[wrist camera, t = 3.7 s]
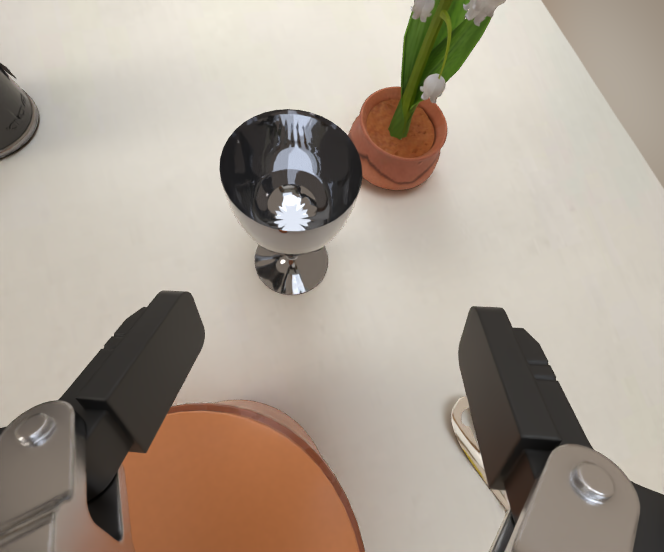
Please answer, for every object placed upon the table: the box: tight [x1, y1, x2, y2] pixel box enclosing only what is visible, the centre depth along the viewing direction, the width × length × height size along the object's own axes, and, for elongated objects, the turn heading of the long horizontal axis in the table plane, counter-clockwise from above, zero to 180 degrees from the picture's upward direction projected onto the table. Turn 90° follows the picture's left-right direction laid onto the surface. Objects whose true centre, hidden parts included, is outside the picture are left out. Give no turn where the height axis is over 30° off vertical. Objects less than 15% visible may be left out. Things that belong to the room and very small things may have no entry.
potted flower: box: [348, 0, 506, 190], centre depth 26 cm, size 12×10×25 cm
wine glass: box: [220, 109, 362, 295], centre depth 26 cm, size 8×8×15 cm
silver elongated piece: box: [451, 396, 510, 510], centre depth 27 cm, size 20×4×5 cm
